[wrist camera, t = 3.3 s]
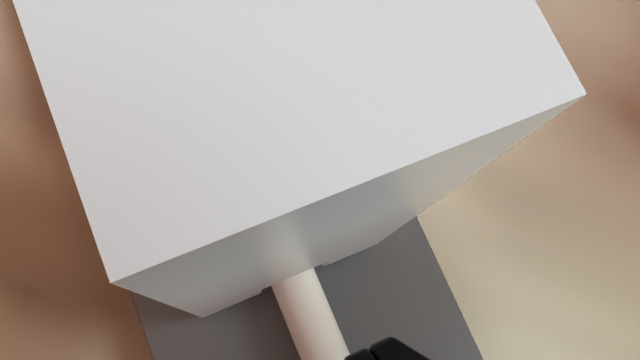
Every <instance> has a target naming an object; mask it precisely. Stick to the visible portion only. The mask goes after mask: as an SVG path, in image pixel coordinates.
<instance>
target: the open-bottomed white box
mask: <svg viewBox="0 0 640 360" xmlns="http://www.w3.org/2000/svg"><path fill="white" fill-rule="evenodd" d="M12 1H13V4H14V7H15V10H16V12H17V15H18V18H19V21H20V24H21V27H22V30H23V33H24V36H25V39H26V41H27V44H28V47H29V50H30V53H31V56H32V59H33V62H34V65H35V67H36V70H37V73H38V76H39V79H40V82H41V85H42V88H43V91H44V94H45V96H46V99H47V102H48V105H49V108H50V111H51V114H52V117H53V120H54V122H55V125H56V128H57V131H58V134H59V137H60V140H61V143H62V146H63V149H64V151H65V154H66V157H67V160H68V163H69V166H70V169H71V172H72V175H73V178H74V180H75V183H76V186H77V189H78V192H79V195H80V198H81V201H82V204H83V206H84V209H85V212H86V215H87V218H88V221H89V224H90V227H91V230H92V233H93V235H94V238H95V241H96V244H97V247H98V250H99V253H100V256H101V259H102V261H103V264H104V267H105V270H106V273H107V276H108V279H109V282H110V283H111V284H114V285H116V286H119V287H122V288H124V289H127V290H130V291H132V292H135V293H138V294H140V295H143V296H146V297H148V298H151V299H154V300H156V301H159V302H162V303H164V304H167V305H170V306H172V307H175V308H178V309H181V310H183V311H186V312H189V313H191V314H194V315H197V316H199V317H202V318H204V317H206V316H208V315H211V314H213V313H216V312H218V311H220V310H223V309H225V308H227V307H230V306H232V305H234V304H237V303H239V302H242V301H244V300H246V299H249V298H251V297H253V296H256V295H258V294H260V293H261V291H262V289H264V288H267V287H269V286H272V285H274V284H276V283H279V282H281V281H283V280H286V279H288V278H290V277H293V276H295V275H298V274H300V273H302V272H305V271H307V270H309V269H312V268H314V267H317V266H319V265H321V264H322V265H323V267H324V266H327V265H329V264H331V263H334V262H336V261H338V260H341V259H343V258H345V257H348V256H350V255H353V254H355V253H357V252H360V251H362V250H364V249H367V248H369V247H371V246H374V245H376V244H378V243H379V242H380V241H382V240H383V239H385V238H386V237H387V236H389V235H390V234H392V233H393V232H394V231H396V230H397V229H399V228H400V227H401V226H403V225H404V224H406V223H407V222H408V221H410V220H411V219H413V218H414V217H415V216H417V215H418V214H420V213H421V212H422V211H424V210H425V209H427V208H428V207H429V206H431V205H432V204H434V203H435V202H437V201H438V200H439V199H441V198H442V197H444V196H445V195H446V194H448V193H449V192H451V191H452V190H453V189H455V188H456V187H458V186H459V185H460V184H462V183H463V182H465V181H466V180H467V179H469V178H470V177H472V176H473V175H474V174H476V173H477V172H479V171H480V170H481V169H483V168H484V167H486V166H487V165H488V164H490V163H491V162H493V161H494V160H495V159H497V158H498V157H500V156H501V155H502V154H504V153H505V152H507V151H508V150H509V149H511V148H512V147H514V146H515V145H516V144H518V143H519V142H521V141H522V140H523V139H525V138H526V137H528V136H529V135H530V134H532V133H533V132H535V131H536V130H537V129H539V128H540V127H542V126H543V125H545V124H546V123H547V122H549V121H550V120H552V119H553V118H554V117H556V116H557V115H559V114H560V113H561V112H563V111H564V110H566V109H567V108H568V107H570V106H571V105H573V104H574V103H575V102H577V101H578V100H580V99H581V98H582V97H584V96H585V95H587V93H586V91H585V89H584V87H583V86H582V84H581V82H580V80H579V78H578V77H577V75H576V73H575V71H574V69H573V68H572V66H571V64H570V62H569V60H568V59H567V57H566V55H565V53H564V51H563V50H562V48H561V46H560V44H559V42H558V41H557V39H556V37H555V35H554V33H553V32H552V30H551V28H550V26H549V24H548V23H547V21H546V19H545V17H544V15H543V14H542V12H541V10H540V8H539V6H538V5H537V3H536V1H535V0H12Z"/></svg>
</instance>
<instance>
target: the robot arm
mask: <svg viewBox="0 0 640 360" xmlns="http://www.w3.org/2000/svg"><path fill="white" fill-rule="evenodd" d="M344 360H431V359H429V358H428V357H426V356H424V355H423V354H421V353H419V352H418V351H416V350H415V349H413V348H411V347H410V346H408V345H406V344H405V343H403V342H402V341H400V340H398V339H397V338H395V337H386V338H384V339H382V340H380V341H378V342H375V343H373V344H371V345H370V347H369V349H367V348H363V349H360V350H358V351H356V352H354V353H352V354H350V355H347V356H346V357H345V359H344Z"/></svg>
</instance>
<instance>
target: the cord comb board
mask: <svg viewBox="0 0 640 360" xmlns="http://www.w3.org/2000/svg"><path fill="white" fill-rule="evenodd" d="M130 292H131V295H132V298H133V301H134V304H135V306H136V309H137V312H138V315H139V318H140V321H141V323H142V326H143V329H144V332H145V335H146V338H147V341H148V343H149V346H150V349H151V352H152V355H153V358H154V360H344V359H345V357H346V356H347V355H350V354H352V353H354V352H356V351H358V350H360V349H363V348H367V349H369V347H370V345H371V344H373V343H375V342H378V341H380V340H382V339H384V338H386V337H395V338H397V339H398V340H400V341H402V342H403V343H405V344H406V345H408V346H410V347H411V348H413V349H415V350H416V351H418V352H419V353H421V354H423V355H424V356H426V357H428V358H429V359H431V360H483V358H482V356H481V354H480V352H479V350H478V348H477V345H476V343H475V341H474V339H473V337H472V335H471V333H470V331H469V328H468V326H467V324H466V322H465V320H464V318H463V316H462V313H461V311H460V309H459V307H458V305H457V303H456V301H455V298H454V296H453V294H452V292H451V290H450V288H449V286H448V283H447V281H446V279H445V277H444V275H443V273H442V271H441V268H440V266H439V264H438V262H437V260H436V258H435V256H434V253H433V251H432V249H431V247H430V245H429V243H428V241H427V238H426V236H425V234H424V232H423V230H422V228H421V226H420V223H419V221H418V219H417V217H416V216H415V217H414V218H413V219H411V220H410V221H408V222H407V223H406V224H404V225H403V226H401V227H400V228H399V229H397V230H396V231H394V232H393V233H392V234H390V235H389V236H387V237H386V238H385V239H383V240H382V241H380V242H379V243H378V244H376V245H374V246H371V247H369V248H367V249H364V250H362V251H360V252H357V253H355V254H353V255H350V256H348V257H345V258H343V259H341V260H338V261H336V262H334V263H331V264H329V265H327V266H324V267H323V265H322V264H321V265H319V266H317V267H314V268H312V269H309V270H307V271H305V272H302V273H300V274H298V275H295V276H293V277H290V278H288V279H286V280H283V281H281V282H279V283H276V284H274V285H272V286H269V287H267V288H264V289H262V291H261V293H260V294H258V295H256V296H253V297H251V298H249V299H246V300H244V301H242V302H239V303H237V304H234V305H232V306H230V307H227V308H225V309H223V310H220V311H218V312H216V313H213V314H211V315H208V316H206V317H204V318H202V317H199V316H197V315H194V314H191V313H189V312H186V311H183V310H181V309H178V308H175V307H172V306H170V305H167V304H164V303H162V302H159V301H156V300H154V299H151V298H148V297H146V296H143V295H140V294H138V293H135V292H132V291H130Z"/></svg>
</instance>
